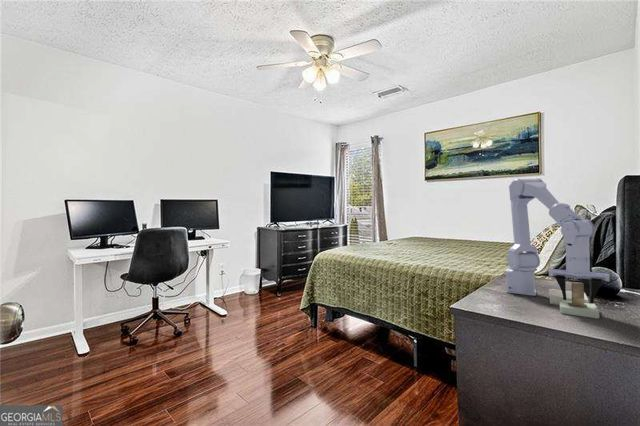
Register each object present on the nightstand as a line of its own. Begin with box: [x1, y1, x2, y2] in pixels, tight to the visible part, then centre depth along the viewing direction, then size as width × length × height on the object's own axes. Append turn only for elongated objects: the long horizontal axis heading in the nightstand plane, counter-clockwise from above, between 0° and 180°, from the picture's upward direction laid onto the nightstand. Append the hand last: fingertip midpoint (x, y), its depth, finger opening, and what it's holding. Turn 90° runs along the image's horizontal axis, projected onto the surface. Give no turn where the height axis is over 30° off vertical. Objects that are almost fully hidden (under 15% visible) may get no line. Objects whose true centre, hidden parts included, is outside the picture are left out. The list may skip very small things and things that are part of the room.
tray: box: [548, 288, 589, 306], centre depth 107 cm, size 10×10×3 cm
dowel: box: [571, 281, 584, 308], centre depth 97 cm, size 3×3×9 cm
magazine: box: [579, 253, 594, 296], centre depth 121 cm, size 4×13×15 cm, turn 137°
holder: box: [558, 300, 600, 320], centre depth 97 cm, size 9×9×2 cm
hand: (577, 300), depth 97 cm, fingers open, 6 cm apart
